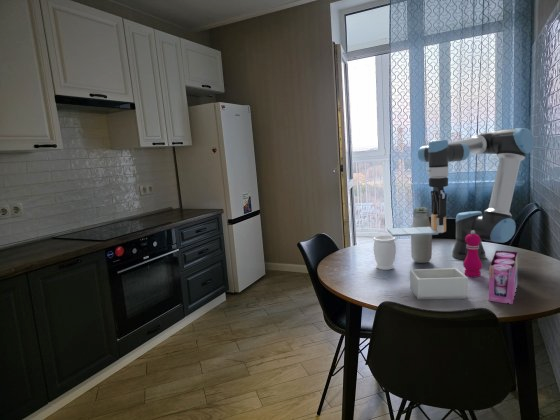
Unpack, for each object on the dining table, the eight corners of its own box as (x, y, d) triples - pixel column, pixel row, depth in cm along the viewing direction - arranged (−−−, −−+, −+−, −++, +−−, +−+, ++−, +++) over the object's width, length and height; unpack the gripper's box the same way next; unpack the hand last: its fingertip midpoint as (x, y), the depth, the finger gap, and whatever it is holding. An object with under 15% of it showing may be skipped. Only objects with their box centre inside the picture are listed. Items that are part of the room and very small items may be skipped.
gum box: (513, 306, 130) (513, 269, 128) (487, 302, 134) (487, 266, 133) (517, 284, 149) (518, 251, 147) (494, 281, 154) (495, 250, 152)
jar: (397, 270, 176) (396, 239, 173) (374, 270, 178) (373, 240, 176) (395, 264, 186) (394, 234, 184) (373, 264, 188) (372, 235, 186)
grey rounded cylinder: (412, 265, 182) (411, 209, 178) (410, 259, 192) (409, 205, 188) (433, 265, 179) (433, 208, 175) (431, 259, 189) (430, 205, 185)
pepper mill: (480, 272, 165) (480, 228, 163) (483, 277, 159) (483, 232, 156) (462, 271, 168) (462, 228, 165) (464, 277, 161) (464, 232, 158)
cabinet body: (455, 286, 151) (455, 267, 150) (467, 298, 139) (467, 277, 138) (410, 288, 153) (409, 269, 152) (418, 299, 141) (417, 279, 140)
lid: (439, 227, 166) (439, 212, 165) (449, 233, 153) (449, 217, 152) (387, 230, 168) (386, 215, 167) (392, 236, 156) (392, 220, 155)
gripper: (423, 176, 165) (424, 227, 169) (435, 179, 149) (435, 236, 152) (440, 175, 165) (441, 227, 168) (455, 177, 148) (455, 235, 151)
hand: (438, 231), depth 160 cm, fingers closed on lid, 4 cm apart
